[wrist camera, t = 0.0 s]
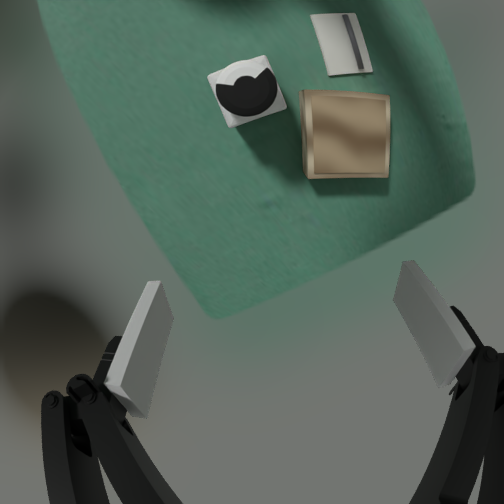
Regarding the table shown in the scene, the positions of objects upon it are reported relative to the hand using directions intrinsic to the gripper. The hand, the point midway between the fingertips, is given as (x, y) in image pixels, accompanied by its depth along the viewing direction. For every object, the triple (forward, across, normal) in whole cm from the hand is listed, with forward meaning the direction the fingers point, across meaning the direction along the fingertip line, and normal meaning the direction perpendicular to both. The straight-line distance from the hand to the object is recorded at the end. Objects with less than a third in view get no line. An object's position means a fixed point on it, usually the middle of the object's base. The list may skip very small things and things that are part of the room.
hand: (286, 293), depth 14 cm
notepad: (+29, +13, +19) cm, 37 cm away
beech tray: (+28, +12, +5) cm, 31 cm away
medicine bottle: (+28, -1, +11) cm, 30 cm away
